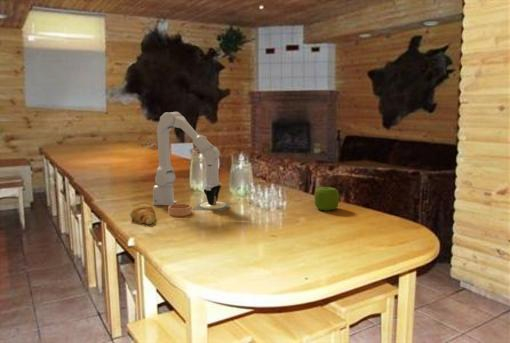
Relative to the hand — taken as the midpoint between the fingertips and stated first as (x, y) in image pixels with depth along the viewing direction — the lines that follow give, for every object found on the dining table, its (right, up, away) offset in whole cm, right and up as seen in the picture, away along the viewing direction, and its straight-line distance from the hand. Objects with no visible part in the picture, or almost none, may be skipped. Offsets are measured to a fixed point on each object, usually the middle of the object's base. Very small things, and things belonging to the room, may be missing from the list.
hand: (212, 202), depth 207 cm
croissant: (-28, -6, -20) cm, 34 cm away
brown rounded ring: (-13, -4, -11) cm, 18 cm away
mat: (0, -2, 0) cm, 2 cm away
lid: (0, -2, 0) cm, 2 cm away
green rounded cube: (+52, -3, -4) cm, 52 cm away
